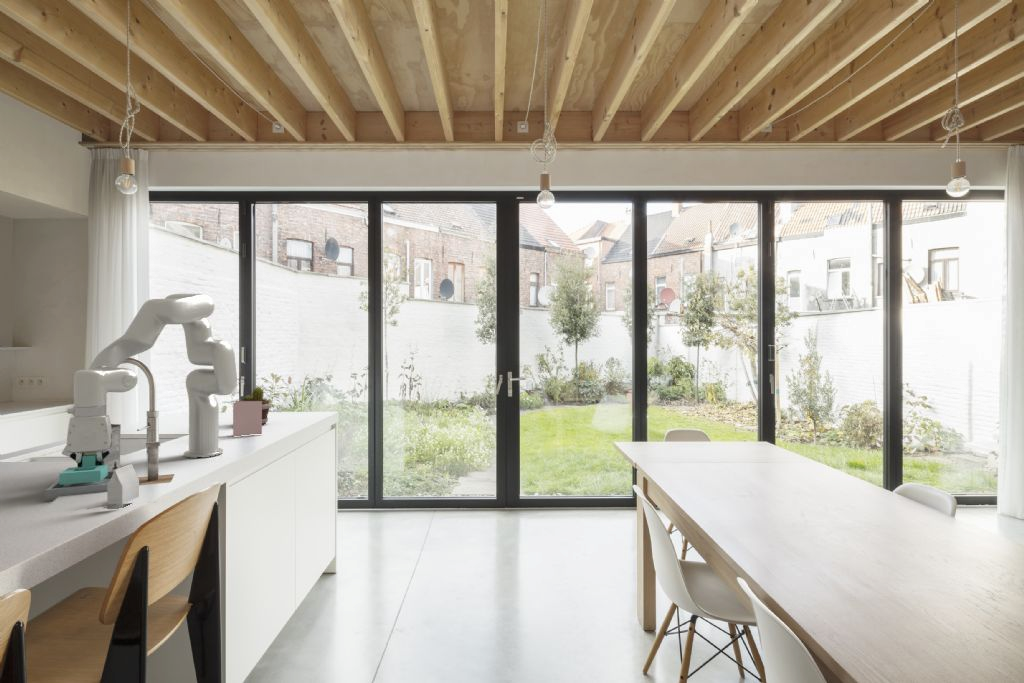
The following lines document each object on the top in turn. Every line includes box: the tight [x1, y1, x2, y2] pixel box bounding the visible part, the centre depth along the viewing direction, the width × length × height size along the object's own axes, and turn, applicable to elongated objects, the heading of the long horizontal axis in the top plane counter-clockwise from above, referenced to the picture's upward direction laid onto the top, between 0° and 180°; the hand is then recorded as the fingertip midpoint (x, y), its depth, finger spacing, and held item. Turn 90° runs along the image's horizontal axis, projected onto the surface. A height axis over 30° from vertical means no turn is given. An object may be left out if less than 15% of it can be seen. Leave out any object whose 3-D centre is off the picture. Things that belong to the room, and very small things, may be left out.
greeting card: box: [232, 400, 263, 437], centre depth 237 cm, size 11×7×15 cm, turn 92°
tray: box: [44, 471, 114, 502], centre depth 156 cm, size 17×14×3 cm
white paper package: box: [106, 463, 140, 510], centre depth 143 cm, size 4×7×10 cm, turn 3°
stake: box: [138, 440, 175, 486], centre depth 163 cm, size 10×10×12 cm
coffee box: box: [84, 423, 122, 471], centre depth 170 cm, size 9×6×16 cm
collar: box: [59, 454, 108, 485], centre depth 156 cm, size 13×9×6 cm
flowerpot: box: [240, 384, 272, 426], centre depth 266 cm, size 14×15×20 cm
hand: (90, 474), depth 160 cm, fingers closed on collar, 3 cm apart
